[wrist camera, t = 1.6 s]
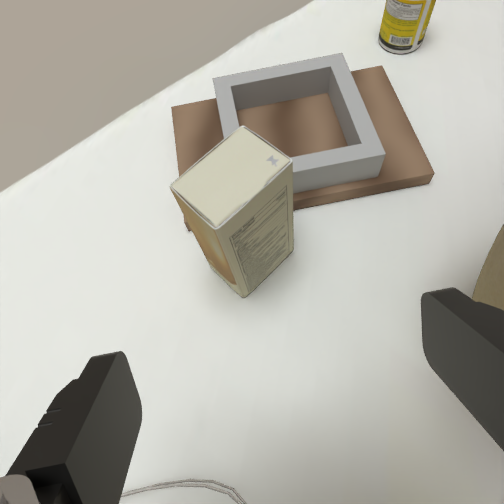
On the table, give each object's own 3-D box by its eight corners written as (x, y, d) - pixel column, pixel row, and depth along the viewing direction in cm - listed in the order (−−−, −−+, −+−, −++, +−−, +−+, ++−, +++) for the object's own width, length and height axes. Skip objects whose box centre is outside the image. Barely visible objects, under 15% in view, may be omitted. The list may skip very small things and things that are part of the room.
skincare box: (259, 220, 34) (245, 118, 23) (295, 250, 33) (299, 156, 22) (206, 269, 33) (164, 183, 22) (241, 302, 31) (215, 229, 20)
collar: (338, 79, 39) (342, 52, 36) (377, 176, 33) (385, 154, 31) (217, 103, 39) (212, 78, 36) (237, 204, 33) (232, 184, 31)
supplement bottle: (405, 22, 44) (430, -64, 36) (430, 45, 42) (461, -41, 34) (369, 36, 43) (386, -48, 36) (392, 60, 41) (416, -23, 34)
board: (378, 77, 40) (381, 65, 39) (428, 183, 34) (434, 173, 33) (175, 117, 40) (171, 107, 39) (188, 230, 34) (184, 222, 33)
